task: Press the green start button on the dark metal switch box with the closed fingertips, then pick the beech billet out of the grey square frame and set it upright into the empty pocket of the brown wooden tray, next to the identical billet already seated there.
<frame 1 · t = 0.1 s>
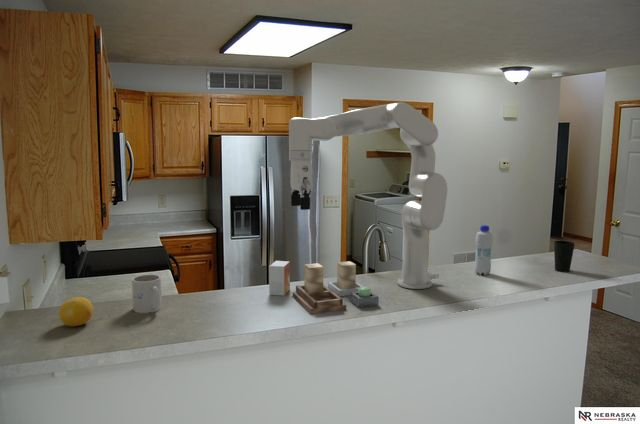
hand: (300, 207, 165), 31 cm above the counter, fingers open, 9 cm apart
bottle: (482, 274, 201), on the counter
brown wooden tray: (318, 302, 165), on the counter
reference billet: (313, 294, 169), resting on brown wooden tray
fruit: (77, 325, 144), on the counter
cup: (562, 271, 206), on the counter
switch box: (364, 303, 164), on the counter
start button: (364, 293, 163), point 4 cm above the counter, slide at 0.0 cm
grey square frame: (346, 290, 178), on the counter
small box: (279, 292, 175), on the counter
mug: (149, 310, 157), on the counter
billet: (346, 277, 177), in the grey square frame
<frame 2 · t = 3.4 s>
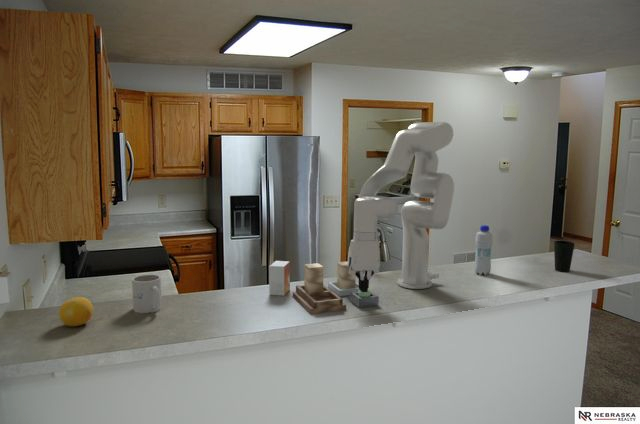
hand: (363, 290, 163), 4 cm above the counter, fingers closed
start button: (364, 295, 164), point 3 cm above the counter, slide at 0.7 cm, touching gripper
everything else where it was.
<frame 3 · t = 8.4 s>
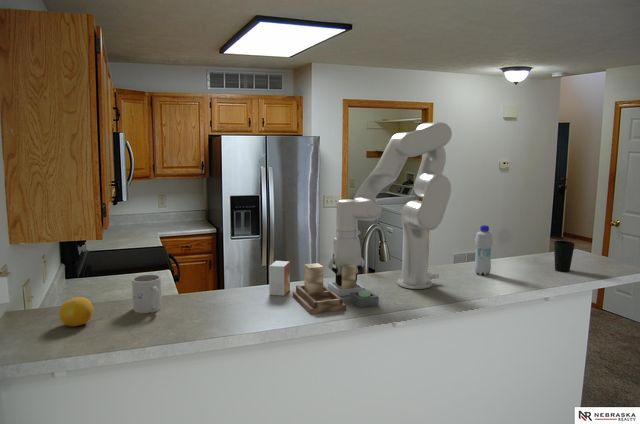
hand: (346, 283, 177), 2 cm above the counter, fingers closed on billet, 5 cm apart
start button: (364, 296, 164), point 2 cm above the counter, slide at 1.2 cm
billet: (346, 277, 177), in the grey square frame, touching gripper
everything else where it was.
when the fingers open (5 cm above the counter, at t = 13.7 s): billet stays where it is, resting on brown wooden tray.
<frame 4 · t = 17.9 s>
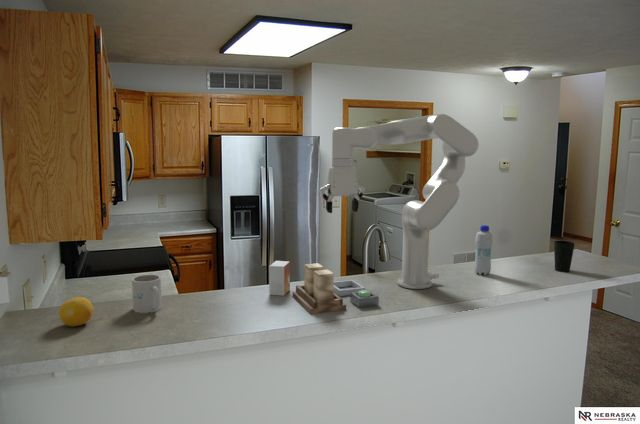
hand: (342, 211, 175), 28 cm above the counter, fingers open, 9 cm apart
billet: (323, 287, 160), in the brown wooden tray, point 6 cm above the counter
everything else where it was.
at the end: billet 0.1 cm from the target spot on the brown wooden tray, point 6.5 cm above the brown wooden tray's base; billet tilted 0°; start button slide at 1.2 cm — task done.
